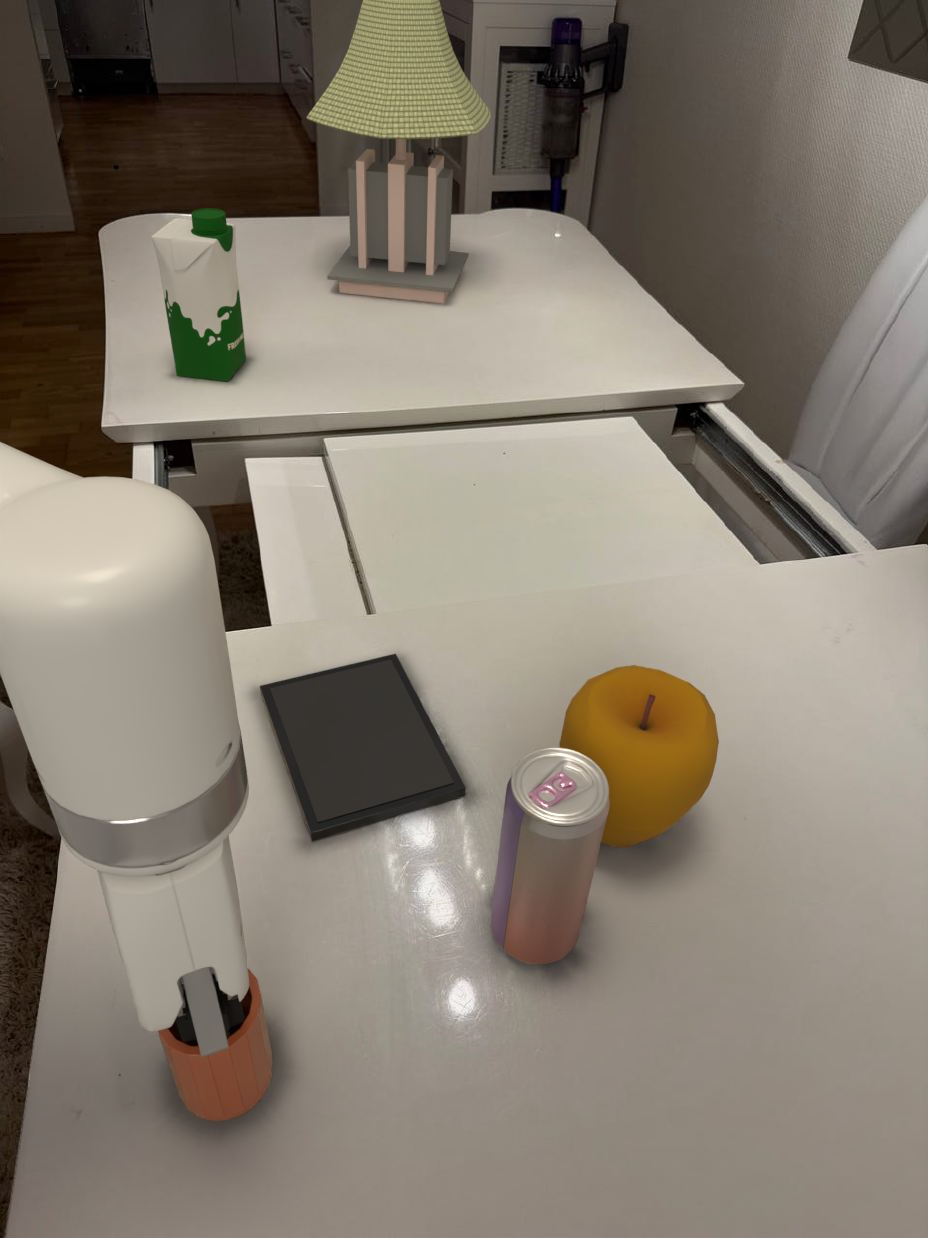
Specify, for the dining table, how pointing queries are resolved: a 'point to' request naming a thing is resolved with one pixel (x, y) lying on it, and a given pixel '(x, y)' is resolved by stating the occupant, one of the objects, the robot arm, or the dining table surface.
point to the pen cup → (224, 1064)
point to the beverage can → (547, 853)
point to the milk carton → (202, 294)
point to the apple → (644, 747)
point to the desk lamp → (400, 149)
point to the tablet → (358, 746)
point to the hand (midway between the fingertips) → (208, 1003)
